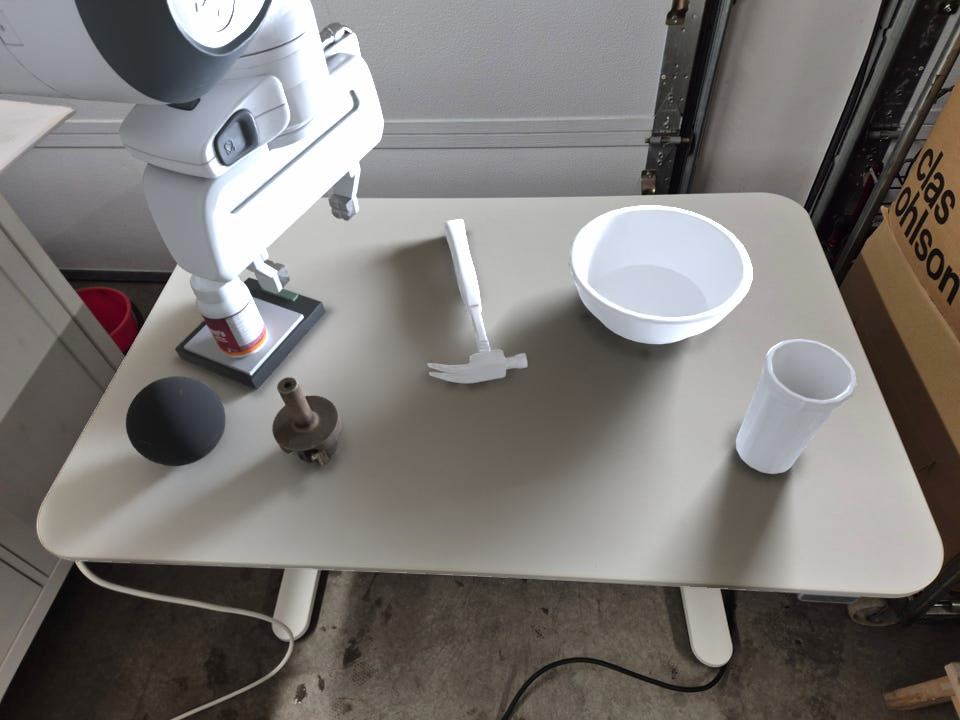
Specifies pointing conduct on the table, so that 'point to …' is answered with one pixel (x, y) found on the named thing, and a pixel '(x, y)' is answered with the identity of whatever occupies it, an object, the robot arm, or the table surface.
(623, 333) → the bowl
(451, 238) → the hammer
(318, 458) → the industrial component
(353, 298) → the table surface
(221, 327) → the pill bottle
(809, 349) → the cup
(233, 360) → the scale
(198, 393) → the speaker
